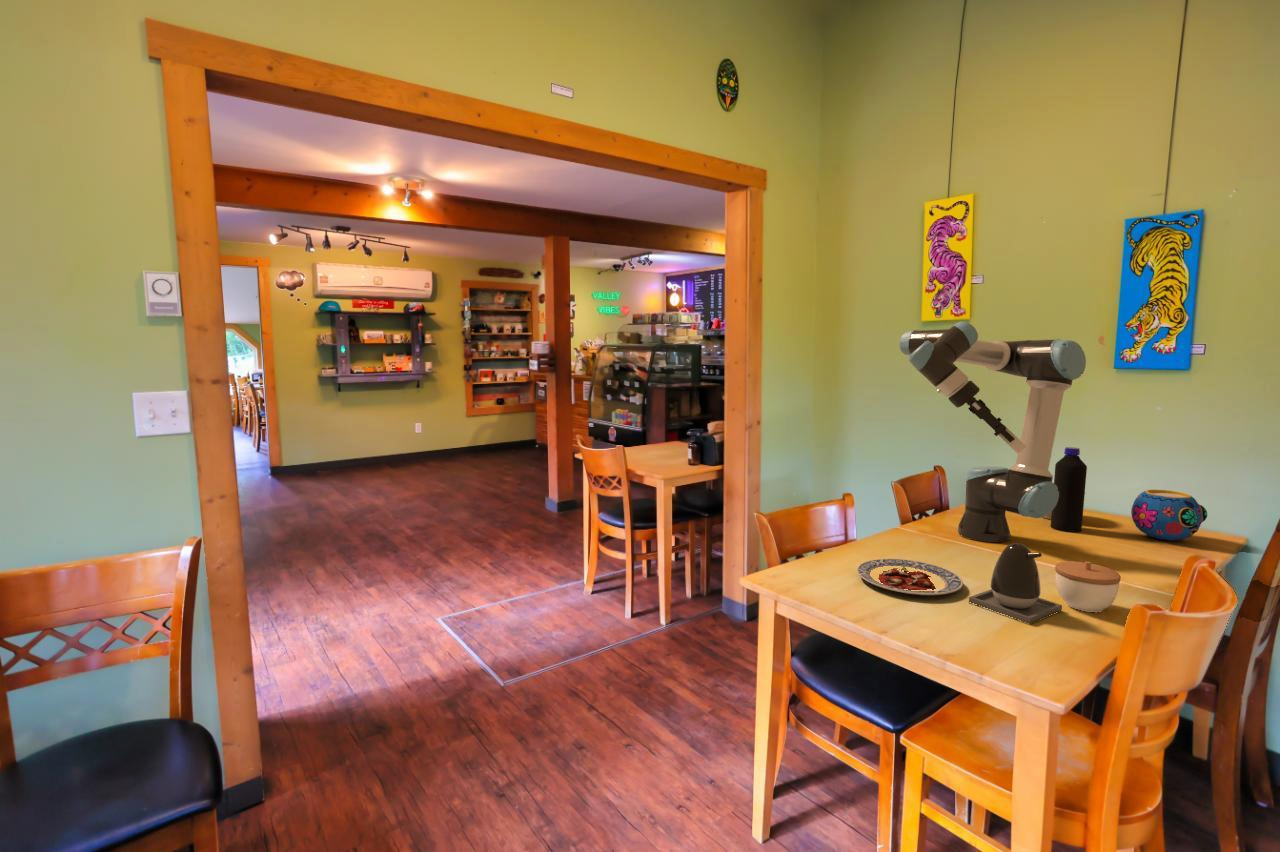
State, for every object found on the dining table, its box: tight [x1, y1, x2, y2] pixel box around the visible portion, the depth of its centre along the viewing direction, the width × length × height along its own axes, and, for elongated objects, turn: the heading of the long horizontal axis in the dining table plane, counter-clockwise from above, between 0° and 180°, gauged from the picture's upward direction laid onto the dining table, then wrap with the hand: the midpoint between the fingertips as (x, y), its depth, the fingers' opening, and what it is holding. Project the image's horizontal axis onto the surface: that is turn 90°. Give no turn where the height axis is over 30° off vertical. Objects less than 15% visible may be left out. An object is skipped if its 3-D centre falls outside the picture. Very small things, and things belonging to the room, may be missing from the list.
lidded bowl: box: [1054, 560, 1122, 614], centre depth 148 cm, size 13×13×11 cm
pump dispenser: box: [990, 542, 1043, 609], centre depth 147 cm, size 10×10×15 cm
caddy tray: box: [968, 588, 1063, 625], centre depth 148 cm, size 14×14×2 cm
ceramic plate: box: [856, 558, 964, 596], centre depth 164 cm, size 26×26×3 cm
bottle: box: [1050, 446, 1088, 533], centre depth 210 cm, size 9×9×28 cm
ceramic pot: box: [1130, 489, 1208, 542], centre depth 200 cm, size 18×18×15 cm
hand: (1018, 446), depth 165 cm, fingers open, 13 cm apart
